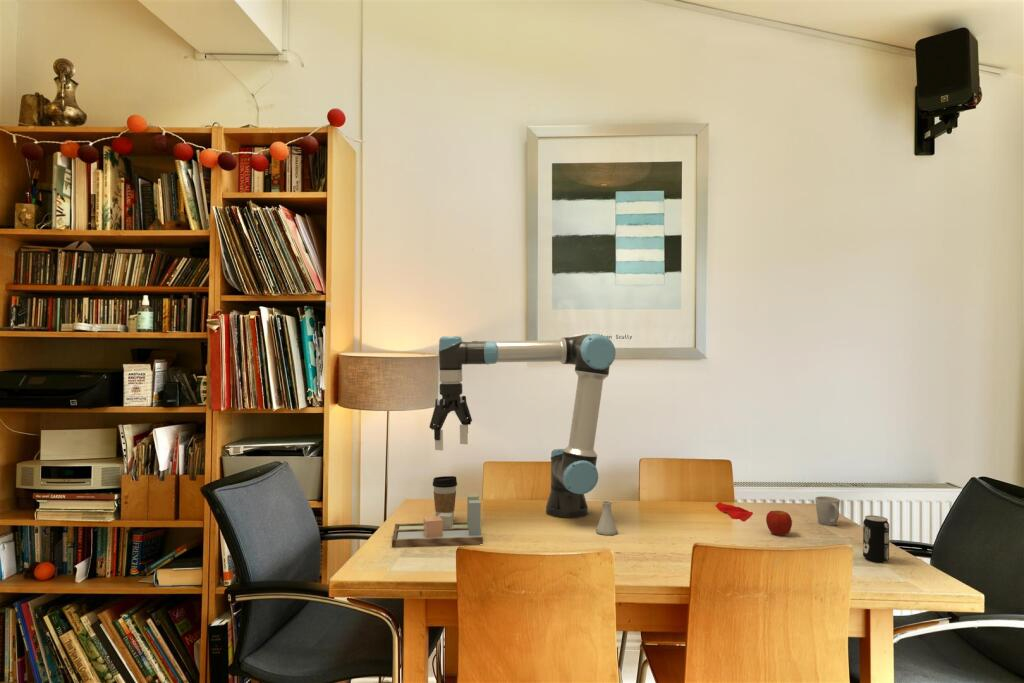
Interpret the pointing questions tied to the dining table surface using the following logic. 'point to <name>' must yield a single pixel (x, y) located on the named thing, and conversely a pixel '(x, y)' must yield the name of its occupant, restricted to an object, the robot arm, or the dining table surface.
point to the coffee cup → (444, 494)
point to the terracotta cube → (433, 527)
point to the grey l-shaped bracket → (469, 497)
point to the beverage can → (876, 539)
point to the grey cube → (447, 519)
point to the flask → (606, 521)
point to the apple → (779, 522)
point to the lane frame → (433, 541)
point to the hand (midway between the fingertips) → (451, 447)
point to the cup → (827, 510)
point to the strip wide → (472, 532)
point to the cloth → (734, 511)
